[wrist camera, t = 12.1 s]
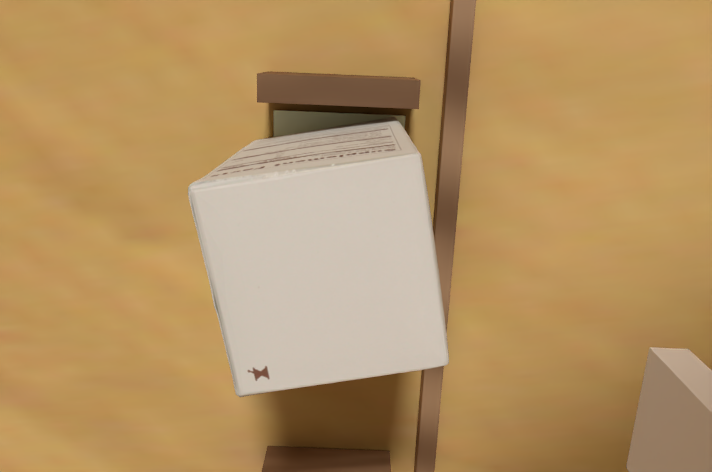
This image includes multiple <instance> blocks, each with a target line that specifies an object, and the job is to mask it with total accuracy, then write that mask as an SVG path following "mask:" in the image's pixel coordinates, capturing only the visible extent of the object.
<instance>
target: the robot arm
mask: <svg viewBox="0 0 712 472" xmlns="http://www.w3.org/2000/svg"><path fill="white" fill-rule="evenodd" d="M626 468H627V470H628V471H629V472H712V370H711V369H710V368H708V367H707V366H706V365H705V364H704V363H703V362H702V361H701V360H700V359H699V358H698V357H697V356H696V355H695V354H693V353H692V352H691V351H690V350H689V349H677V348H654V347H649V352H648V357H647V362H646V367H645V373H644V378H643V383H642V388H641V393H640V398H639V403H638V408H637V414H636V419H635V424H634V429H633V434H632V439H631V444H630V450H629V455H628V460H627V465H626Z"/></svg>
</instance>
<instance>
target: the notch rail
mask: <svg viewBox="0 0 712 472" xmlns="http://www.w3.org/2000/svg"><path fill="white" fill-rule="evenodd" d="M475 6H476V0H451V5H450V18H449V30H448V43H447V56H446V69H445V82H444V94H443V107H442V120H441V133H440V146H439V158H438V171H437V184H436V197H435V210H434V222H433V233H434V240H435V248H436V255H437V262H438V269H439V277H440V285H441V293H442V301H443V309H444V317H445V325H446V334H447V322H448V311H449V300H450V288H451V277H452V266H453V254H454V243H455V232H456V221H457V209H458V198H459V187H460V175H461V164H462V153H463V142H464V130H465V119H466V108H467V96H468V85H469V74H470V63H471V51H472V40H473V29H474V17H475ZM419 96H420V80H418V79H415V78H407V77H383V76H360V75H336V74H313V73H289V72H263V73H258V74H257V102H263V103H287V104H311V105H334V106H358V107H382V108H406V109H419ZM443 367H444V366H441V367H436V368H431V369H424V370H422V376H421V389H420V402H419V414H418V427H417V440H416V453H415V466H414V472H434V469H435V458H436V446H437V435H438V424H439V413H440V401H441V390H442V379H443ZM262 472H391V464H390V451H381V450H355V449H329V448H303V447H276V446H268V447H267V451H266V455H265V460H264V464H263V468H262Z"/></svg>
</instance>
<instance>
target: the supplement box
mask: <svg viewBox="0 0 712 472" xmlns="http://www.w3.org/2000/svg"><path fill="white" fill-rule="evenodd" d="M188 196H189V201H190V204H191V209H192V213H193V218H194V222H195V225H196V229H197V233H198V237H199V241H200V245H201V250H202V254H203V258H204V262H205V266H206V270H207V274H208V278H209V282H210V287H211V293H212V298H213V302H214V307H215V310H216V313H217V316H218V320H219V323H220V328H221V332H222V336H223V340H224V344H225V348H226V352H227V357H228V361H229V365H230V369H231V373H232V377H233V383H234V388H235V392H236V395H237V396H239V397H244V396H249V395H255V394H261V393H267V392H273V391H280V390H287V389H294V388H300V387H307V386H314V385H321V384H329V383H335V382H342V381H349V380H356V379H363V378H370V377H376V376H383V375H390V374H396V373H404V372H410V371H418V370H424V369H431V368H436V367H441V366H445V365H447V364H448V363H449V354H448V343H447V334H446V325H445V317H444V309H443V301H442V293H441V285H440V277H439V269H438V262H437V255H436V248H435V240H434V233H433V226H432V220H431V213H430V206H429V199H428V193H427V186H426V180H425V174H424V168H423V162H422V157H421V154H420V153H419V151H418V150H417V148H416V147H415V145H414V144H413V142H412V141H411V139H410V137H409V136H408V134H407V133H406V131H405V130H404V128H403V127H402V125H401V124H400V122H399V121H398V120H397V118H396V117H389V118H384V119H378V120H372V121H367V122H360V123H354V124H348V125H342V126H336V127H330V128H324V129H318V130H312V131H306V132H300V133H294V134H288V135H282V136H276V137H270V138H265V139H259V140H255V141H253V142H252V143H250V144H249V145H247V146H246V147H244V148H242V149H241V150H240V151H238V152H237V153H235V154H234V155H233V156H232V157H230V158H229V159H227V160H226V161H225V162H223V163H222V164H221V165H219V166H218V167H217V168H215V169H214V170H213V171H211V172H210V173H209V174H207V175H206V176H204V177H203V178H201V179H199V180H197V181H195V182H193V183H192V184H190V185H189V187H188Z"/></svg>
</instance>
